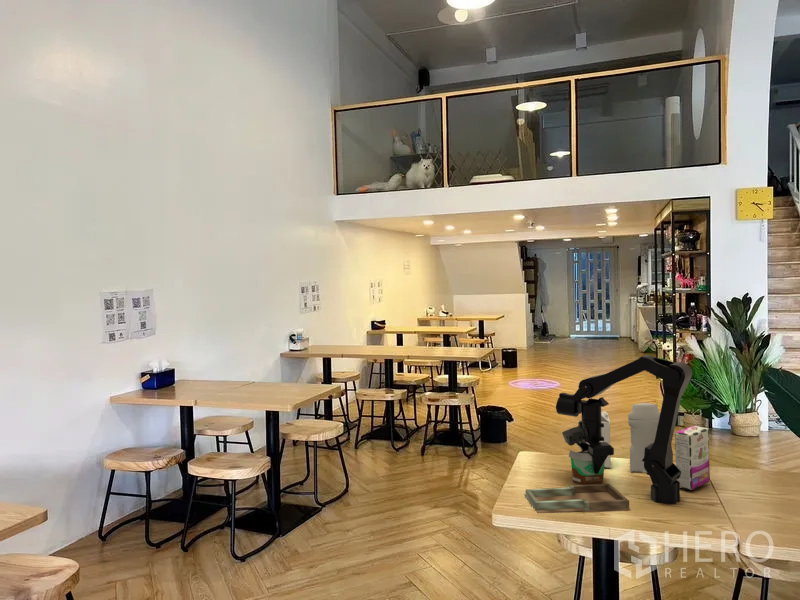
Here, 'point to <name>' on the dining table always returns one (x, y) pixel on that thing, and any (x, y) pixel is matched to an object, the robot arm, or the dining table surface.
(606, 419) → the milk carton
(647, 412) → the light grey flat bottle
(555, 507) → the green flat tray
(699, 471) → the candy bar box
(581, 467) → the food container
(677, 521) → the dining table surface
